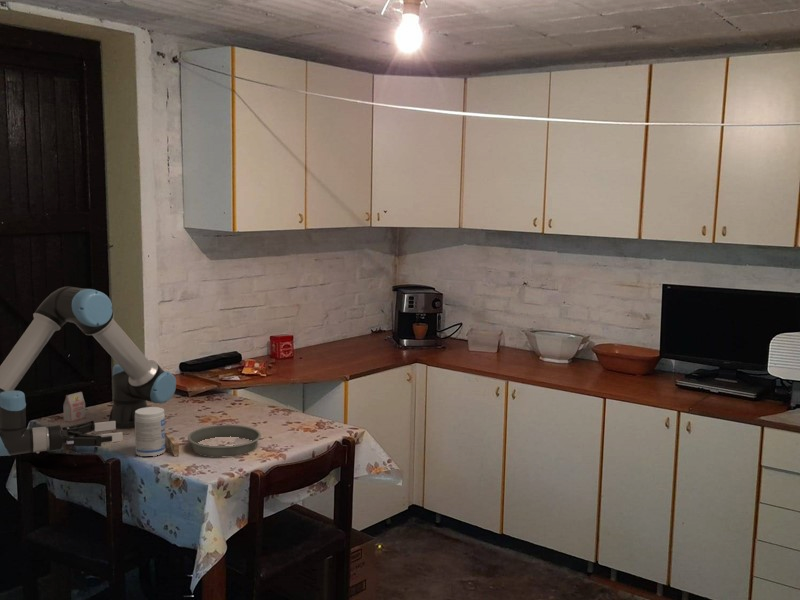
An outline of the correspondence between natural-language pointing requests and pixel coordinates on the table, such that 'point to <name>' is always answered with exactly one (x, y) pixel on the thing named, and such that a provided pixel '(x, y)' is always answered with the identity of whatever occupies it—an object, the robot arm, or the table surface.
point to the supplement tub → (150, 431)
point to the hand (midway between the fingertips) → (119, 430)
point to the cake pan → (224, 432)
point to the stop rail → (172, 444)
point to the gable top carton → (74, 407)
